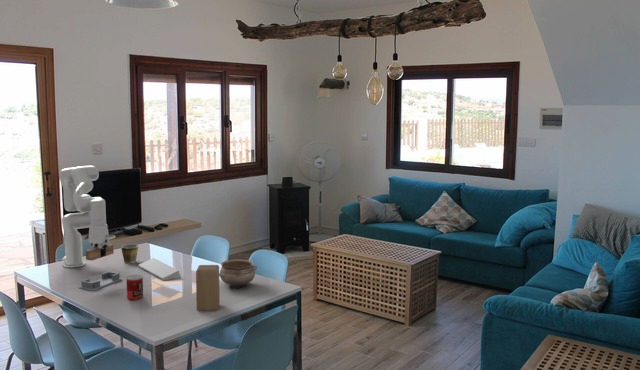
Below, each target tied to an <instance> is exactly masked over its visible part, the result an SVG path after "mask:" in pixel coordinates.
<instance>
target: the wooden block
mask: <svg viewBox="0 0 640 370" xmlns="http://www.w3.org/2000/svg"><path fill="white" fill-rule="evenodd" d="M219 274H220V266H219V265H218V264H199V265H198V267H197V269H196V271H195V284H196V285H195V288H196V289H195V292H196V298H195V299H196V300H195V301H196V311H199V312H201V311H202V312H203V311H205V312H206V311H207V312H208V311H210V312H211V311H214V312H215V311H218V309H219V307H220V276H219Z"/></svg>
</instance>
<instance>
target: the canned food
mask: <svg viewBox="0 0 640 370" xmlns="http://www.w3.org/2000/svg"><path fill="white" fill-rule="evenodd" d="M143 279H144V278H143V275H141V274H130V275H128V276H126V298H127V300H128V301H139V300H141V299H143V297H144V283H143V282H144V281H143Z"/></svg>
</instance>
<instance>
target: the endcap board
mask: <svg viewBox="0 0 640 370" xmlns="http://www.w3.org/2000/svg"><path fill="white" fill-rule="evenodd" d="M122 280H123V278H122V277H120V272H115V271H105V272H103V273H101V278H99V279H97V280H93V281H91V279H90V278H86V279H85V278H84V280H81V285H79V287H78V288H79V289H82V290H88V291H97V290H100V289H101V288H104V287H107V286H110V285H112V284H115V283H117V282H120V281H122Z"/></svg>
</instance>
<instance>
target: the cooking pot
mask: <svg viewBox="0 0 640 370" xmlns="http://www.w3.org/2000/svg"><path fill="white" fill-rule="evenodd" d="M254 264H255V263H254V262H253V261H251V260H248V259H238V258H237V259H230V260H229V259H228V260H225V261H223V262H220V265H221V268H220V269H219V279H221V281H222V283H224V284H226V285H229V286H230V287H231V288H242V287H244V286H246V285H248V284H250V283H251V282H252V281H253V279H255V275H256V270H258V265H254Z"/></svg>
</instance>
